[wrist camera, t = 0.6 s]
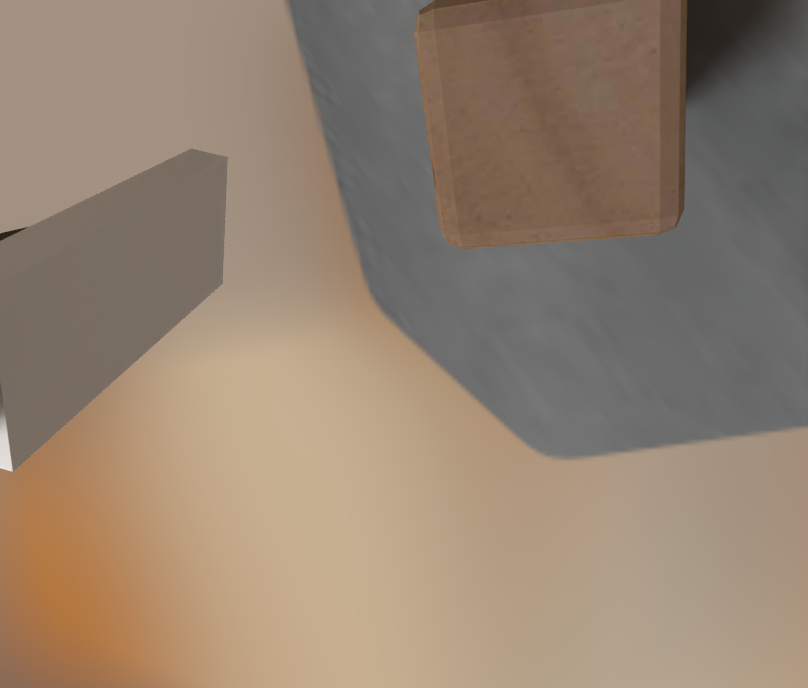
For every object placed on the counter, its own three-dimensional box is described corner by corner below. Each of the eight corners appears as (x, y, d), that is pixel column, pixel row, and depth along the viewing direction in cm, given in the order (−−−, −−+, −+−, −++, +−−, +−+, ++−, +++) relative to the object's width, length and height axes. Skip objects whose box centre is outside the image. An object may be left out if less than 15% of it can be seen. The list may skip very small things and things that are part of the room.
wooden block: (490, 154, 49) (439, 258, 31) (474, -11, 45) (405, 5, 27) (647, 137, 46) (686, 240, 29) (646, -39, 42) (691, -42, 25)
